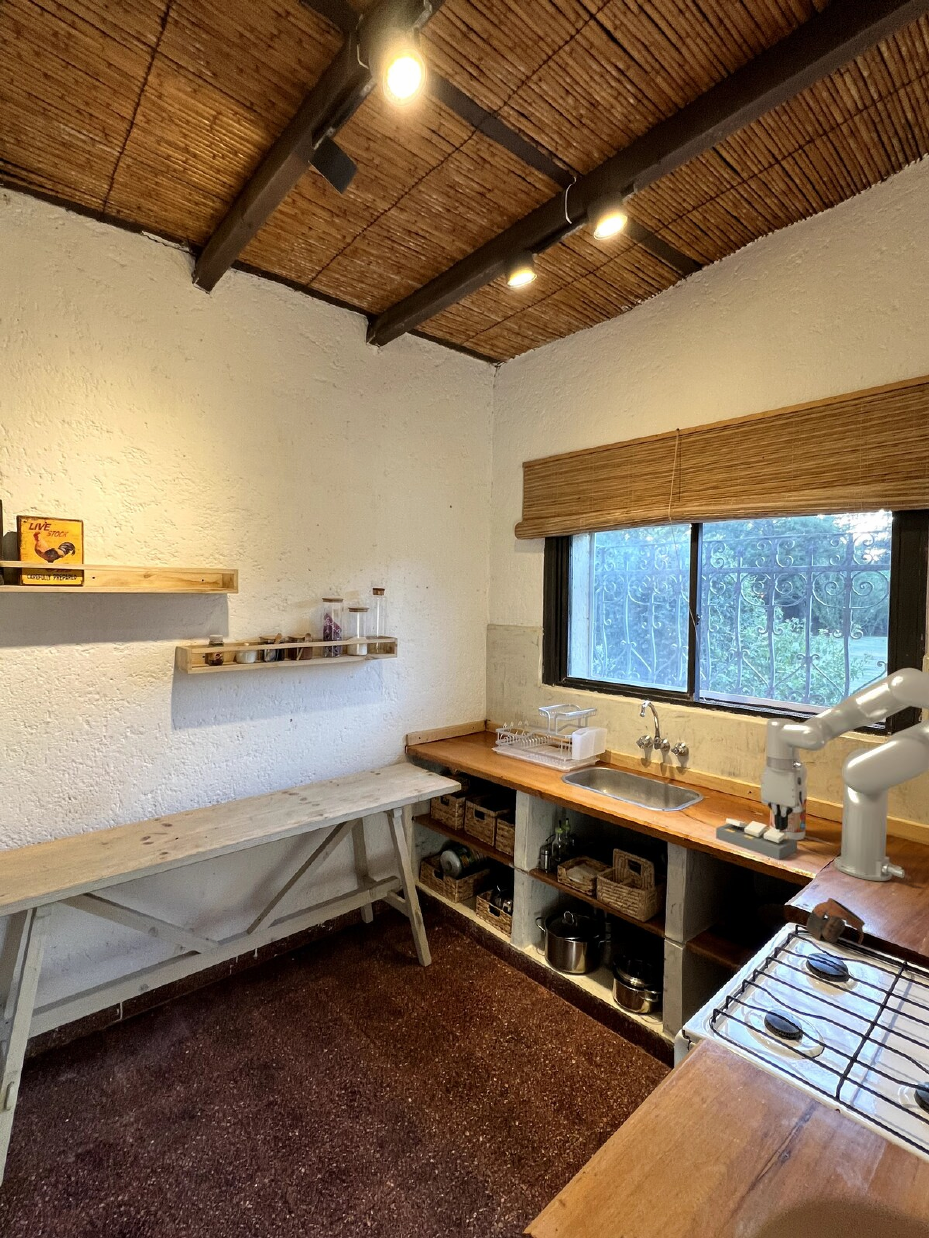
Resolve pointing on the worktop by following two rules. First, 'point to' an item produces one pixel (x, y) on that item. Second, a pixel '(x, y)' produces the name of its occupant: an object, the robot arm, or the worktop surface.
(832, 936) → the pottery mug
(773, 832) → the block
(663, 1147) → the worktop surface
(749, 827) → the rocker
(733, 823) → the rocker
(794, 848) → the switch panel
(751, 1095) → the worktop surface
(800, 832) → the fruit juice
